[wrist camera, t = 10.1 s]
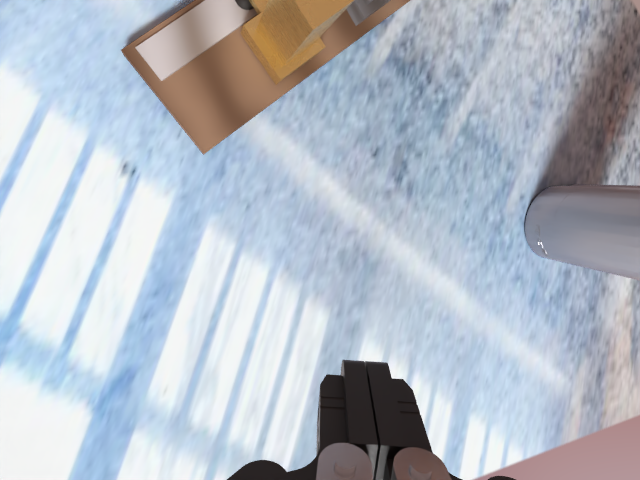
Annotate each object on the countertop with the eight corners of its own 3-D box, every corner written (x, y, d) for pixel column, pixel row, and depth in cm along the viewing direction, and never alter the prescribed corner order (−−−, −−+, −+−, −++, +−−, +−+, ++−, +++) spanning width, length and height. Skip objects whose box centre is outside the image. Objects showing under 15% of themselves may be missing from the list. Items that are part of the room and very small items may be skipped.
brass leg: (268, -26, 34) (302, -115, 23) (318, 53, 36) (369, 4, 26) (221, 6, 33) (235, -71, 23) (275, 85, 35) (310, 47, 25)
